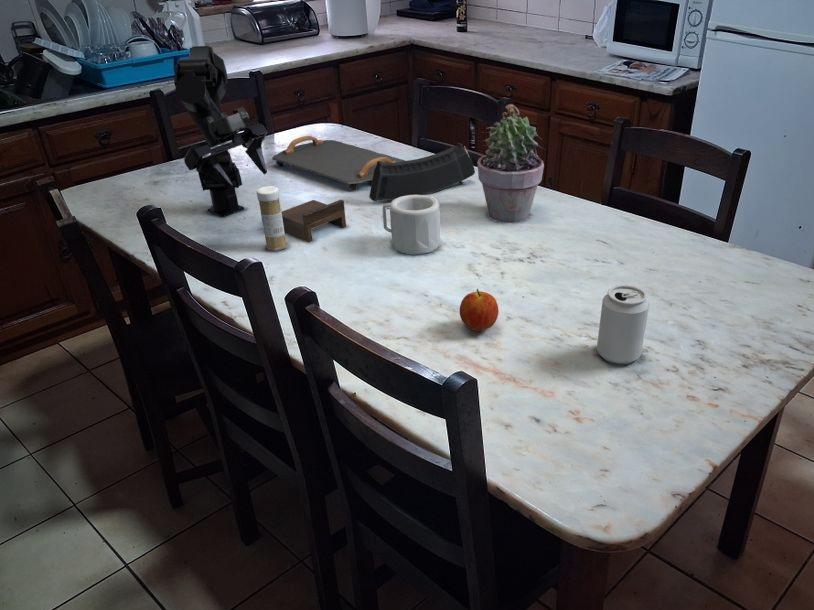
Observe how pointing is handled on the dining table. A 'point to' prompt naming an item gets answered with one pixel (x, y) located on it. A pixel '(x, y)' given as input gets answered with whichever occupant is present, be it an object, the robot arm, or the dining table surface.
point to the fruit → (479, 310)
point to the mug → (414, 224)
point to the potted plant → (510, 168)
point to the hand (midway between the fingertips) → (249, 180)
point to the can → (622, 324)
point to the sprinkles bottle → (271, 218)
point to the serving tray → (333, 160)
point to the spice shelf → (312, 218)
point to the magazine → (421, 174)
